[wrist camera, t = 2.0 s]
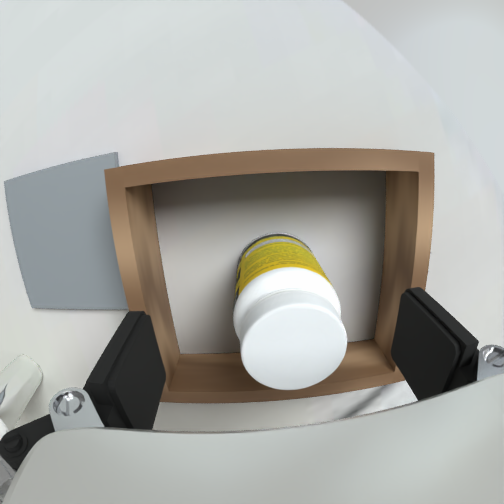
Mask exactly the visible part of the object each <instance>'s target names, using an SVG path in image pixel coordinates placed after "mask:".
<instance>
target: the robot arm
mask: <svg viewBox="0 0 504 504" xmlns="http://www.w3.org/2000/svg"><path fill="white" fill-rule="evenodd" d="M478 343H479V341H478V340H477V339H476V338H475V337H474V336H473V335H472V334H471V333H470V332H469V331H468V330H467V329H465V328H464V327H463V326H462V325H461V324H460V323H459V322H458V321H457V320H456V319H455V318H454V317H453V316H452V315H451V314H450V313H449V312H447V311H446V310H445V309H444V308H443V307H442V306H441V305H440V304H439V303H438V302H437V301H435V300H434V299H433V298H432V297H431V296H430V295H429V294H428V293H426V292H425V291H424V290H423V289H422V288H420V287H415V288H409V289H406V290H405V292H404V293H402V295H401V298H400V304H399V310H398V316H397V322H396V327H395V332H394V337H393V342H392V347H391V357H392V359H393V361H394V362H395V364H396V365H397V367H398V369H399V370H400V372H401V373H402V375H403V376H404V378H405V380H406V381H407V383H408V385H409V386H410V388H411V389H412V391H413V393H414V394H415V396H416V398H417V399H418V401H416V402H412V403H409V404H405V405H402V406H398V407H394V408H390V409H386V410H382V411H378V412H373V413H369V414H364V415H360V416H355V417H350V418H345V419H339V420H333V421H327V422H321V423H315V424H308V425H300V426H292V427H282V428H272V429H260V430H244V431H216V432H192V431H161V430H152V428H153V424H154V421H155V417H156V413H157V410H158V406H159V402H160V399H161V395H162V392H163V388H164V385H165V381H166V371H165V367H164V364H163V361H162V357H161V354H160V350H159V347H158V343H157V339H156V336H155V332H154V328H153V324H152V320H151V317H150V315H146V313H145V312H144V311H129V312H128V313H127V315H126V316H125V318H124V319H123V321H122V322H121V324H120V326H119V327H118V329H117V330H116V332H115V334H114V335H113V337H112V339H111V340H110V342H109V344H108V345H107V347H106V349H105V350H104V352H103V354H102V355H101V357H100V359H99V360H98V362H97V364H96V365H95V367H94V369H93V371H92V372H91V374H90V376H89V378H88V379H87V381H86V384H85V386H84V388H83V389H81V388H76V387H74V388H67V389H63V390H61V391H59V392H58V393H57V394H55V395H54V396H53V398H52V399H51V400H50V403H49V412H50V414H48V415H46V416H44V417H41V418H39V419H37V420H34V421H32V422H30V423H27V424H25V425H23V426H20V427H18V428H16V429H13V430H11V431H9V432H7V433H6V434H5V435H4V436H3V437H2V438H1V440H0V504H504V348H503V347H501V346H497V345H486V346H484V347H482V348H481V349H480V351H479V350H478V349H477V346H478Z"/></svg>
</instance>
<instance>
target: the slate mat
mask: <svg viewBox="0 0 504 504" xmlns="http://www.w3.org/2000/svg"><path fill="white" fill-rule="evenodd" d="M115 167H119V164H118V153H117V152H114V153H109V154H104V155H99V156H95V157H90V158H86V159H81V160H77V161H73V162H69V163H65V164H61V165H57V166H54V167H50V168H46V169H43V170H39V171H36V172H32V173H29V174H26V175H22V176H19V177H16V178H13V179H10V180H7V181H4V186H5V195H6V202H7V209H8V215H9V221H10V226H11V231H12V236H13V241H14V246H15V250H16V254H17V259H18V263H19V266H20V270H21V274H22V278H23V281H24V285H25V288H26V291H27V294H28V298H29V301H30V304H31V307H32V308H51V309H129V308H128V304H127V300H126V296H125V292H124V288H123V283H122V279H121V274H120V270H119V265H118V260H117V255H116V249H115V244H114V238H113V233H112V227H111V220H110V214H109V207H108V200H107V192H106V184H105V175H104V170H105V169H110V168H115Z"/></svg>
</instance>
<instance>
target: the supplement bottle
mask: <svg viewBox="0 0 504 504" xmlns="http://www.w3.org/2000/svg"><path fill="white" fill-rule="evenodd" d="M233 322H234V328H235V331H236V334H237V336H238V338H239V340H240V350H241V359H242V362H243V365H244V367H245V369H246V370H247V372H248V373H249V374H250V375H251V376H252V377H253V378H254V379H255V380H256V381H258V382H259V383H261V384H263V385H265V386H268V387H271V388H275V389H280V390H297V389H302V388H306V387H309V386H312V385H314V384H317V383H319V382H320V381H322V380H324V379H325V378H327V377H328V376H329V375H331V374H332V373H333V372H334V371H335V370H336V369H337V367H338V366H339V365H340V363H341V362H342V360H343V358H344V355H345V352H346V348H347V334H346V330H345V327H344V325H343V323H342V321H341V307H340V302H339V299H338V296H337V294H336V292H335V290H334V288H333V286H332V284H331V283H330V281H329V280H328V278H327V277H326V275H325V273H324V272H323V270H322V268H321V267H320V265H319V263H318V262H317V260H316V258H315V257H314V255H313V253H312V252H311V250H310V249H309V247H308V246H307V245H306V244H305V243H304V242H303V241H302V240H300V239H299V238H297V237H295V236H293V235H290V234H287V233H269V234H266V235H263V236H260V237H258V238H257V239H255V240H254V241H252V242H251V243H250V244H249V245H248V246H247V247H246V248H245V250H244V251H243V253H242V254H241V257H240V259H239V263H238V268H237V278H236V288H235V299H234V307H233Z"/></svg>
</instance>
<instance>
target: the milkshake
mask: <svg viewBox="0 0 504 504" xmlns="http://www.w3.org/2000/svg"><path fill="white" fill-rule="evenodd" d="M42 375H43V373H42V372H41V370H40V368H39V366H38V364H37V363H36V362H35V361H34V360H33V359H32V358H31V357H28V356H26V355H24V354H22V355H20V356H18V357H16V358H15V359H14V360H13V361H12V362H11V363H10V364H9V365H7V366H6V367H5V368H4V369H3V370H2V371H1V372H0V440H1V438H2V437H3V436H4V435H5V434H6V433H7V432H9V431H11V430H13V429H14V428H15V426H16V424H17V422H18V420H19V418H20V416H21V414H22V413H23V411H24V409H25V407H26V406H27V404H28V402H29V401H30V399H31V397H32V396H33V394H34V392H35V391H36V389H37V387H38V386H39V384H40V382H41V381H42Z"/></svg>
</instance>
